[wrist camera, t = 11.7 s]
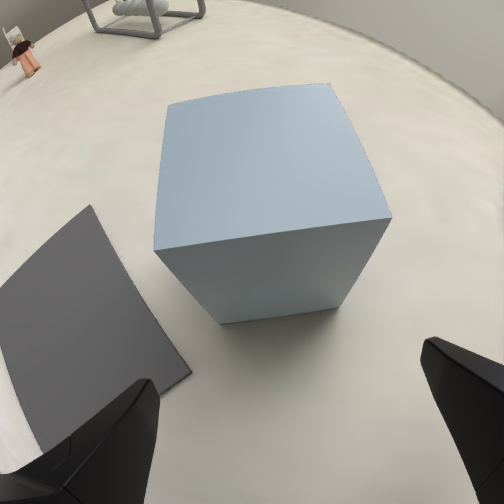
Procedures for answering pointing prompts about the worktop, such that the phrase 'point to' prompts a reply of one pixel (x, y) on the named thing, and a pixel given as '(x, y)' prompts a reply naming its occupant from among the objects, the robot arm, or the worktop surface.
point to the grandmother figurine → (23, 54)
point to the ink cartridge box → (10, 35)
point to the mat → (78, 332)
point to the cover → (266, 202)
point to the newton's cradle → (144, 3)
